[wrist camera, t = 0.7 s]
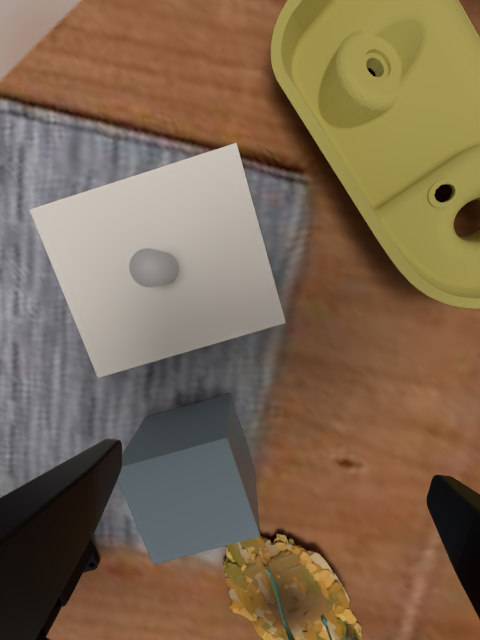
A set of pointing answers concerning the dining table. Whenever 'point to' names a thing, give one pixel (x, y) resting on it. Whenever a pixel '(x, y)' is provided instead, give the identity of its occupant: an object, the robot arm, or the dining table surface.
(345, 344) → the dining table surface
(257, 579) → the green and yellow piece
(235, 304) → the base plate
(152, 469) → the slate grey cube
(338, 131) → the plastic component
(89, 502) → the robot arm
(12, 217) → the dining table surface
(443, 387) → the dining table surface
